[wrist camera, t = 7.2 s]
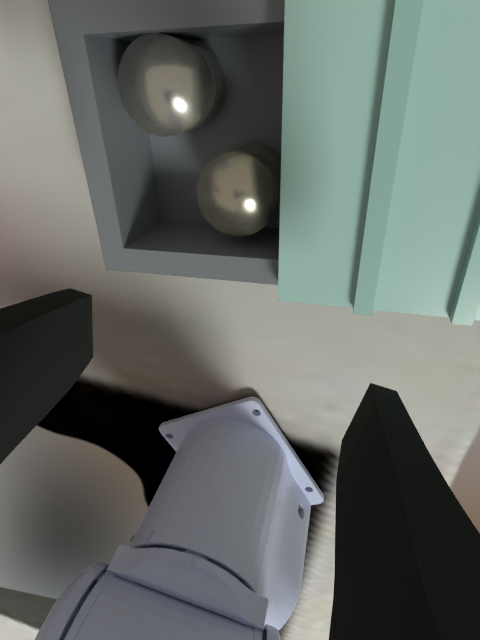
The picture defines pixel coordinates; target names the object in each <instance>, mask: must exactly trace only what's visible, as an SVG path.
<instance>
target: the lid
mask: <svg viewBox="0 0 480 640" xmlns="http://www.w3.org/2000/svg"><path fill="white" fill-rule="evenodd" d="M278 301H287V302H297V303H308V304H318V305H328V306H338V307H348V308H353V314H360V315H370V316H372V312H373V310H379V311H389V312H399V313H409V314H419V315H429V316H440V317H449V318H450V321H451V324H458V325H468V326H473V323H474V320H480V0H285V16H284V58H283V101H282V143H281V186H280V228H279V271H278Z"/></svg>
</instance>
